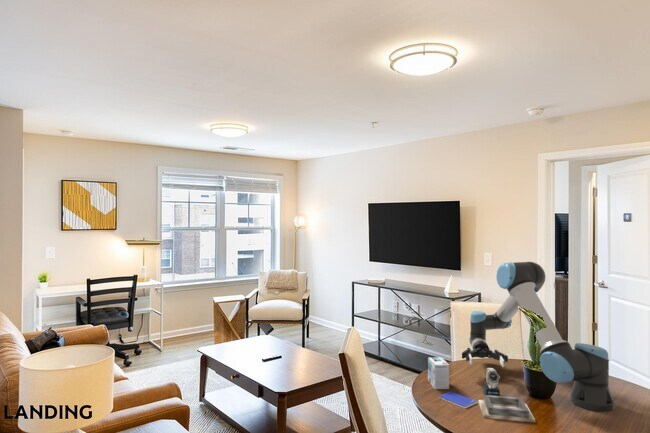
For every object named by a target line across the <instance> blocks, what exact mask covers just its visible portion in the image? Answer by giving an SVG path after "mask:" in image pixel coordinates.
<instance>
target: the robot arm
mask: <svg viewBox="0 0 650 433" xmlns="http://www.w3.org/2000/svg"><path fill="white" fill-rule="evenodd" d="M495 278H496V281H497V285H498V286H499V287H500V288H501V289H503V290H507V292H508V294H509V295H508V297H507V298H506V299H505V301H504V302H503V303H502V304H501V306H500V307H499V308H498V309H497V310H496V312H495V313H493V314H486V312H484V311H482V310H481V311H480V310H475V311H471V313H470V320H469V321H470V333H469V334H470V335H469V340H468V341H469V344H470V346H471V348H470V347H467V349H465V350H464V351H462V352H461V359H465V361H467V362H469V364H470V365H472V366H473V358H479V359H480V358H481V359H485V358H488V359H493V360H496V361H499V363H500V365H501V367H502V368H505V364H506V363H507V362H509V356H508V355H507V354H505V353H502V352H501V351H499V350H497V349H494V350H491V349H490V346H489V345H488V343H487V341H486V337H487V336H486V335H487V334H486V333H487V331H491V330H505V329H509V328H510V327H511V326H512V324H513V320H512V318H514V316H516V314H517V313H518V312H519V311H520V309H521V310H522V309H523V308H525V309H528V310H530V311H532V312H534V313H537V314H536V315H538V314H539V315H540V317H543V320H544V323H545V322H546V323H545V324H547V325H546V326H547V327H546V328H543V329H541V330H539V331H538V332H536V334H534V336H535V335H536V336H535V338H536V339H537V342H538V343H539V345H540V347H541V348H540V351H539V353H540V358H539V362H540V363H539V366H540V369H541V370H542V372H543V374H544V375H545V377H546V378H548V379H549V380H551V381H553V382H554V383H559V384H560V383H561V384H562V383H565V384H566V383H571V382H573V385H572V388H571V389H570V392H569V401H570V402H571V403H572V404H574V405H576V406H578V407H580V408H583V409H586V410H590V411H595V412H596V411H597V412H609V410H610V411H613V410H614V409H615V401H614V399H613V395H612V393H611V390H610V389H611V388H610V386H609V385H610V384H609V382H610V381H609V378H610V377H609V373H610V372H609V371H610V368H609V367H610V365H609V362H610V359H609V352H608V350H606V349H605V348H603V347H600V346H598V345H593V344H587V343H581V342H578V343H574V348H572V346H571V344H570V343H569V341H567V340H564V339H563V338H562V336H561V334H560V333H559V331H558V329H557V327H556V325H555V323H554V322H553V320H552V318H551V317H550V315H549V313H548V311H547V310H546V308H545V306H544V305H543V302H542V300H541V299H540V297H539V296H538V294H537V293H539V291H540V290H541V289H542V287H543V286H544V284H545V281H546V272H545V270H544V268H543V267H542V266H541V265H540V264H538V263H537V262H533V261H519V262H517V261H515V262H512V261H508V262H504V263H502V264H500V265H499V266H498V268H497V270H496V277H495ZM518 306H520V307H521V308H520V309H519V308H518ZM523 315H524V316H525V318H526V321H527V322H528V324H529V326H530V327H531V322H530V319H529V318H528V316H527V315H525V314H524V313H523ZM613 408H614V409H613ZM612 409H613V410H612Z"/></svg>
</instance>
